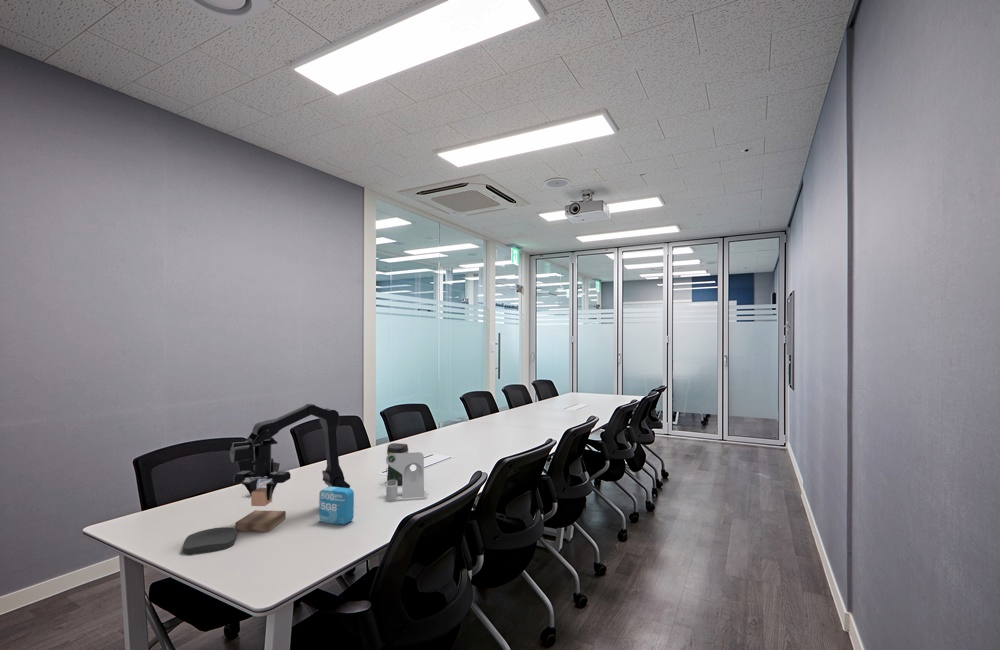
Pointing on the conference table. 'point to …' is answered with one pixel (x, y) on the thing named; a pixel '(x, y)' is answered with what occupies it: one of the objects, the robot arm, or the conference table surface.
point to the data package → (336, 505)
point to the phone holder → (407, 477)
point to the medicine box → (262, 483)
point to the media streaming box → (210, 540)
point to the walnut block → (260, 521)
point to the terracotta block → (260, 497)
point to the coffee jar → (394, 449)
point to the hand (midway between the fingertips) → (261, 500)
